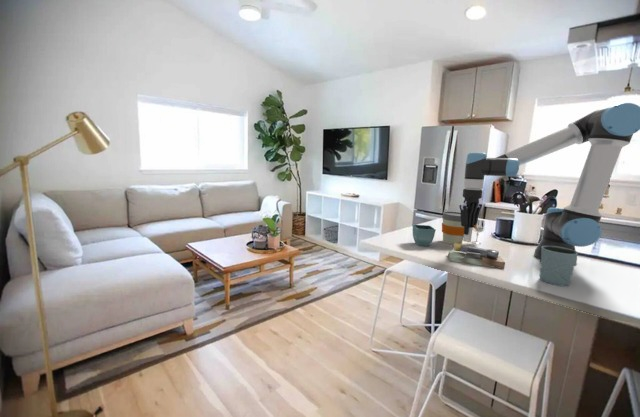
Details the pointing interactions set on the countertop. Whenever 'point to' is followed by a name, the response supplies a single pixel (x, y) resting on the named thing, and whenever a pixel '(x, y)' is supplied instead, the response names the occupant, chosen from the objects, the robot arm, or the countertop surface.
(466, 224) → the robot arm
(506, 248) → the countertop surface
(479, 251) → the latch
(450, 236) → the reusable coffee cup
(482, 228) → the wineglass
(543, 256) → the grey green cup
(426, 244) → the flower pot
